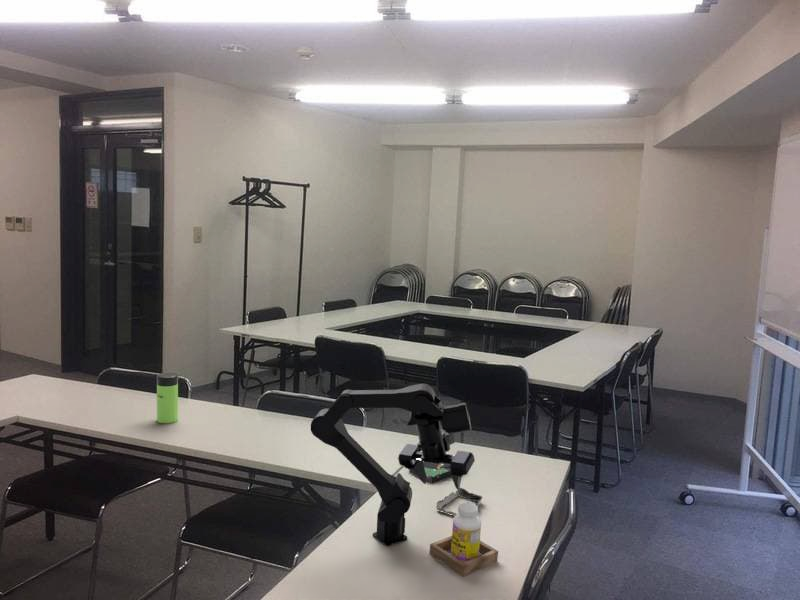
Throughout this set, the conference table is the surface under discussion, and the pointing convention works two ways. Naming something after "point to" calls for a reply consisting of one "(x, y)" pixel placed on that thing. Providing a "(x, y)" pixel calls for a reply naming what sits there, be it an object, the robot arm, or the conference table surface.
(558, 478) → the conference table surface
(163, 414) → the tumbler
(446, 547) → the brown wooden square frame
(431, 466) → the disk drive
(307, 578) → the conference table surface
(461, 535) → the supplement bottle
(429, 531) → the conference table surface
